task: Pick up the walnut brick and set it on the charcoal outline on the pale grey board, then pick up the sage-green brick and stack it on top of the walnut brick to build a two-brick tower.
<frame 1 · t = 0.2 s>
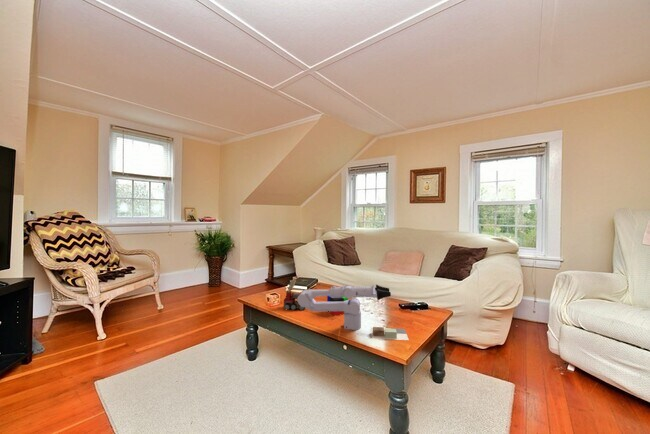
hand: (389, 292, 148), 21 cm above the table, tool horizontal, fingers open, 7 cm apart
walnut brick: (378, 334, 142), point 1 cm above the table, touching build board
toy fire truck: (296, 307, 187), on the table
puzzle toy: (337, 312, 177), on the table
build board: (388, 335, 143), on the table
sage brick: (390, 336, 140), point 1 cm above the table, touching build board
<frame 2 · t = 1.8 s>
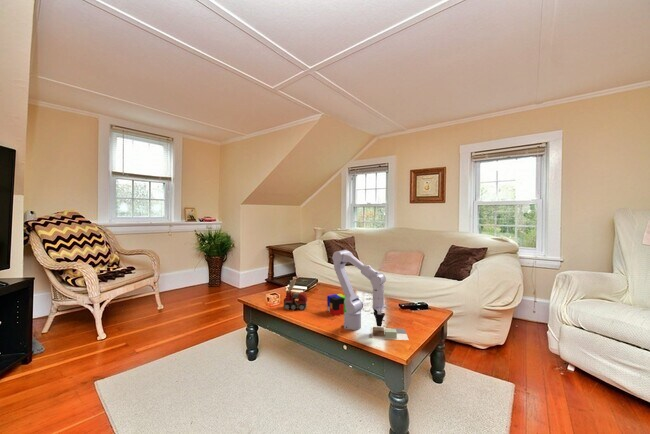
hand: (378, 323, 142), 7 cm above the table, tool pointing down, fingers open, 7 cm apart
nothing on the table moved.
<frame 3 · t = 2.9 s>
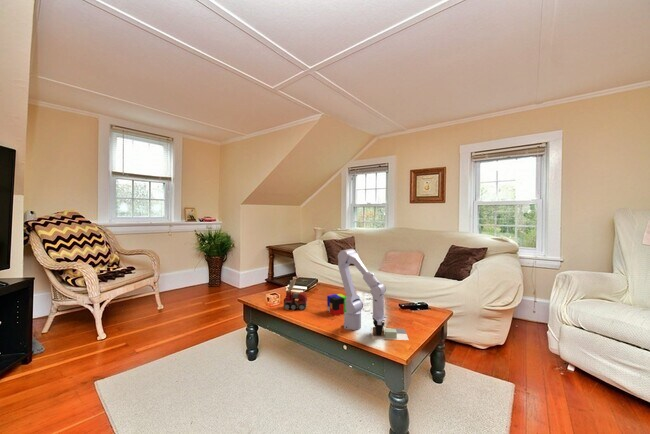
hand: (378, 333, 142), 2 cm above the table, tool pointing down, fingers closed on walnut brick, 4 cm apart
walnut brick: (378, 334, 142), point 1 cm above the table, touching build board, gripper
everything else where it was.
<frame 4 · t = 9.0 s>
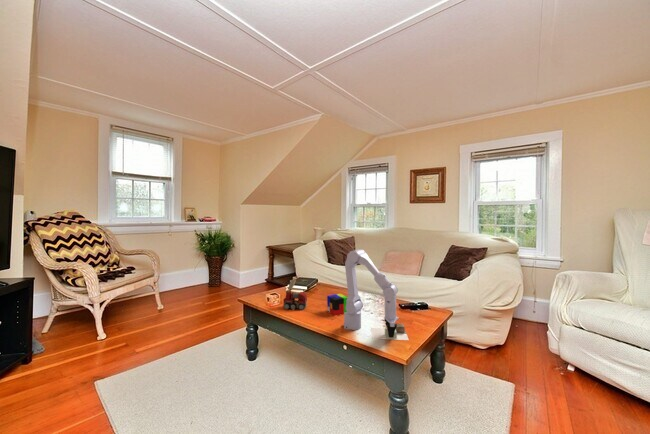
hand: (390, 335, 140), 2 cm above the table, tool pointing down, fingers closed on sage brick, 4 cm apart
walnut brick: (398, 330, 146), point 1 cm above the table, touching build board
sage brick: (390, 336, 140), point 1 cm above the table, touching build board, gripper
everything else where it was.
when the fingers open (6 cm above the table, at t = 11.7 s): sage brick stays where it is, resting on walnut brick.
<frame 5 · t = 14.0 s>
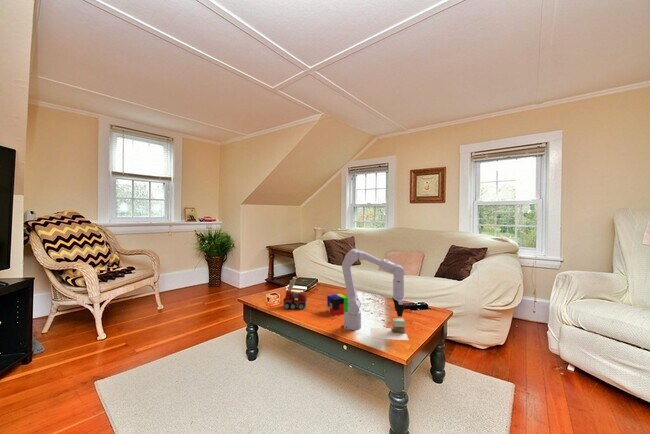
hand: (398, 313, 145), 10 cm above the table, tool pointing down, fingers open, 7 cm apart
walnut brick: (398, 330, 146), point 1 cm above the table, touching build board, sage brick
sage brick: (398, 325, 145), point 4 cm above the table, touching walnut brick
at the end: walnut brick 0.0 cm from the target spot, point 1.2 cm above the table; sage brick 0.1 cm off-centre on the walnut brick, point 3.0 cm above the walnut brick's base; sage brick tilted 0° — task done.
